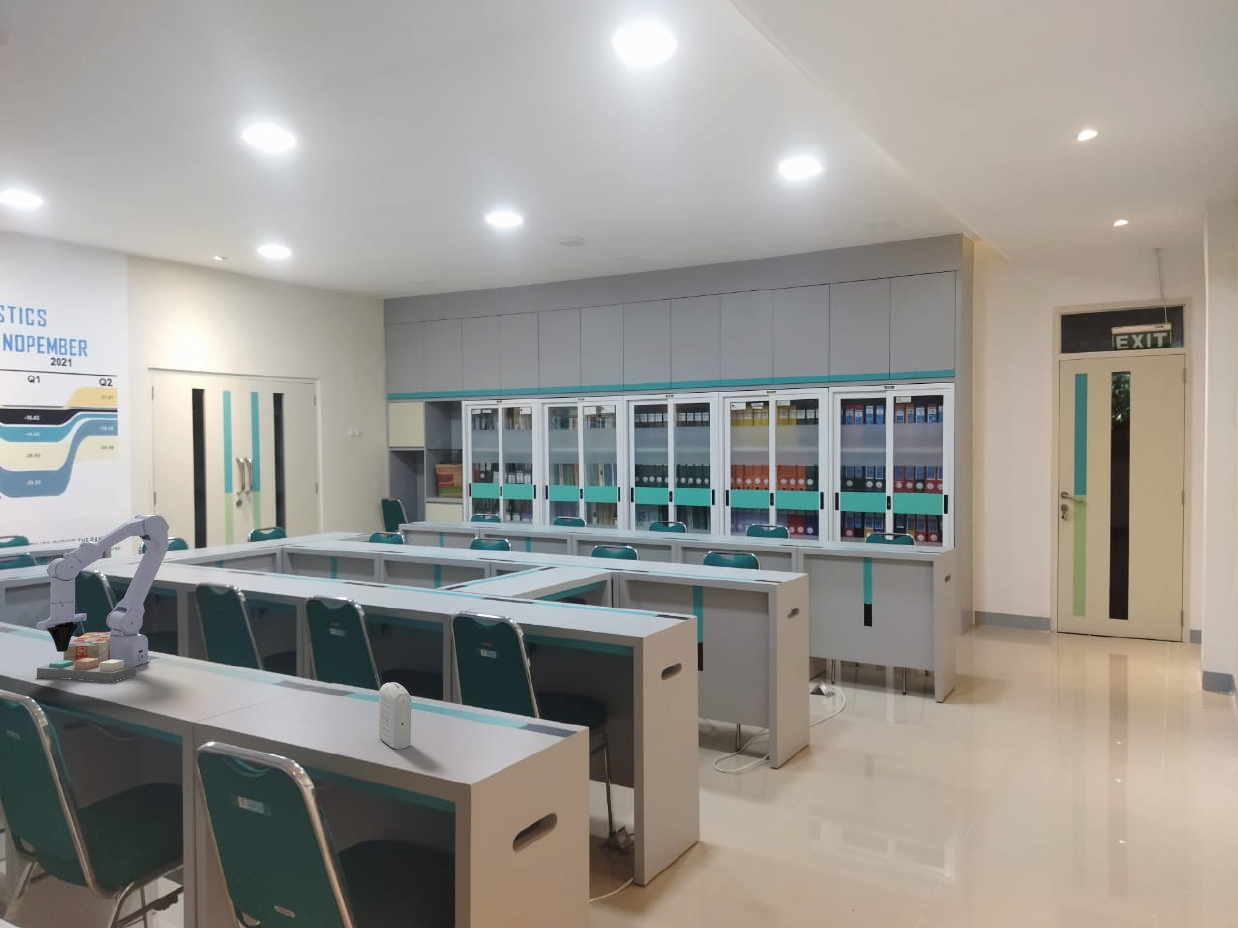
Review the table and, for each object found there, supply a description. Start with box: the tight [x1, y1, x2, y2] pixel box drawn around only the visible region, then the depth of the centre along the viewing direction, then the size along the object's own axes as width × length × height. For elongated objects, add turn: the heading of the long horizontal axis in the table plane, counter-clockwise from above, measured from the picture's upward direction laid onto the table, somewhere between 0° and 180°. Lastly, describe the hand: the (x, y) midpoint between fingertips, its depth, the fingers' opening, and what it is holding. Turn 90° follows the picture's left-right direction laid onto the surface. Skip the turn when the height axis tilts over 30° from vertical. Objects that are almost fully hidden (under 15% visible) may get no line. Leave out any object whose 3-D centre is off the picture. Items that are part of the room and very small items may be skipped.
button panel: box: [36, 662, 137, 683], centre depth 231 cm, size 24×8×2 cm, turn 79°
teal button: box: [48, 660, 74, 668], centre depth 232 cm, size 4×4×4 cm
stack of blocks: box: [63, 631, 111, 664], centre depth 252 cm, size 21×6×12 cm
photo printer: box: [378, 682, 412, 750], centre depth 178 cm, size 10×4×12 cm, turn 35°
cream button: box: [100, 659, 124, 671], centre depth 229 cm, size 4×4×4 cm
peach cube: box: [74, 658, 99, 669], centre depth 231 cm, size 4×4×4 cm
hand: (62, 651), depth 232 cm, fingers closed
